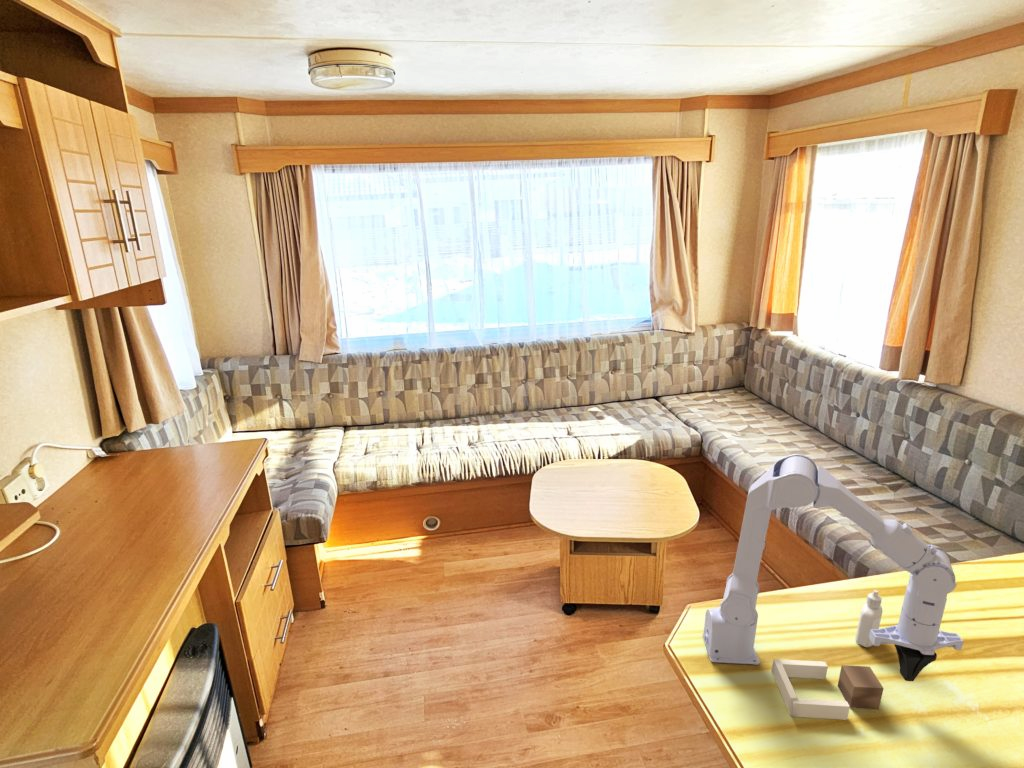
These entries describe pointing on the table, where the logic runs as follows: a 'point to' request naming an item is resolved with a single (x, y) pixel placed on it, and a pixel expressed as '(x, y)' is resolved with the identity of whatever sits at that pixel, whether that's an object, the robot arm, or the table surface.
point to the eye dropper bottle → (869, 618)
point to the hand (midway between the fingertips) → (906, 676)
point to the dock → (801, 705)
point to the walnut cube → (860, 687)
